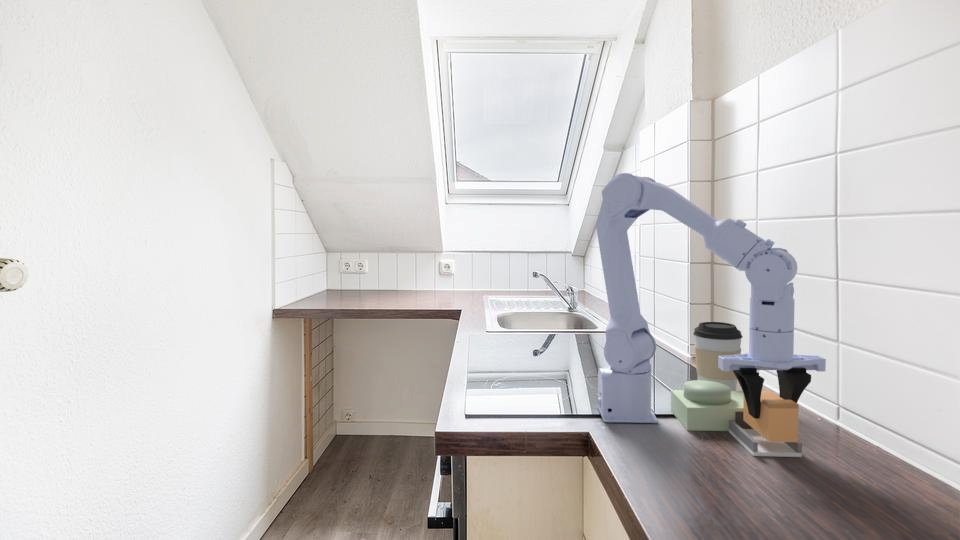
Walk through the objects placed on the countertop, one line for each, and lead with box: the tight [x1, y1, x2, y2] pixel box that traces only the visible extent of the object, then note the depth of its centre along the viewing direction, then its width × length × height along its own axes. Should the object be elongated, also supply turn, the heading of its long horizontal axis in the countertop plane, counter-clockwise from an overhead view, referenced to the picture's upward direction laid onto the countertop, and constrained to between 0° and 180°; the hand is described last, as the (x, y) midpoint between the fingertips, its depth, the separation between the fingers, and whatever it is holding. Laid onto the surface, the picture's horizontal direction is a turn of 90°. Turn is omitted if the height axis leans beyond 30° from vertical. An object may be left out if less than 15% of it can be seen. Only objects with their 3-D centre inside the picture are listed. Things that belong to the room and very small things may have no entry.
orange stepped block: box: [743, 389, 800, 442], centre depth 71 cm, size 4×8×6 cm, turn 174°
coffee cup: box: [692, 321, 743, 391], centre depth 95 cm, size 9×9×15 cm
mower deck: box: [670, 379, 803, 458], centre depth 78 cm, size 14×18×6 cm
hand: (769, 416), depth 71 cm, fingers closed on orange stepped block, 4 cm apart
